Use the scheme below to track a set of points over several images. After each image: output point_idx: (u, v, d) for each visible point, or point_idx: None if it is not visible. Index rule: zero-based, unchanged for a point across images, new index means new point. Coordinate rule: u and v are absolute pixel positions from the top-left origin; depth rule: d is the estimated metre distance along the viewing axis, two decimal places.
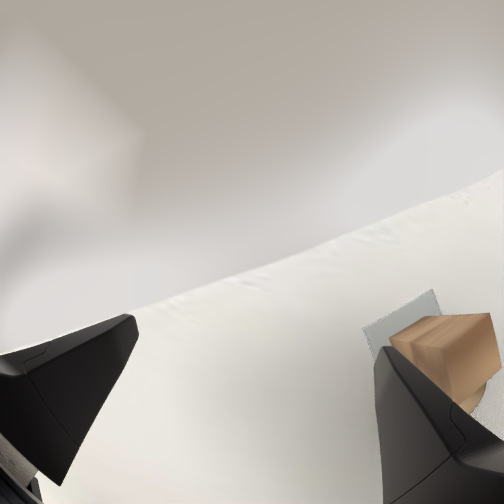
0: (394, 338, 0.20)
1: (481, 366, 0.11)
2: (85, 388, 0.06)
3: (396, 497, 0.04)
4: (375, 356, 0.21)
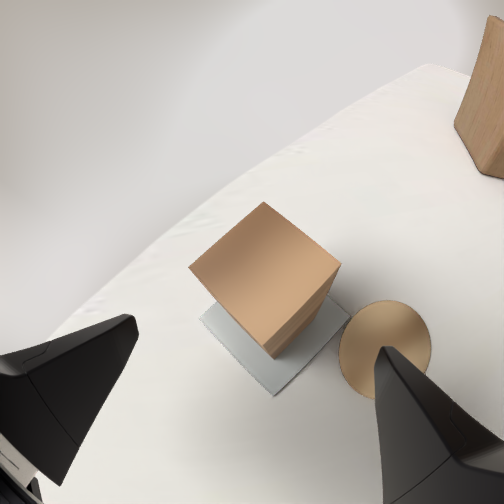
0: None
1: (284, 272, 0.10)
2: (85, 388, 0.07)
3: (396, 497, 0.04)
4: (225, 345, 0.19)
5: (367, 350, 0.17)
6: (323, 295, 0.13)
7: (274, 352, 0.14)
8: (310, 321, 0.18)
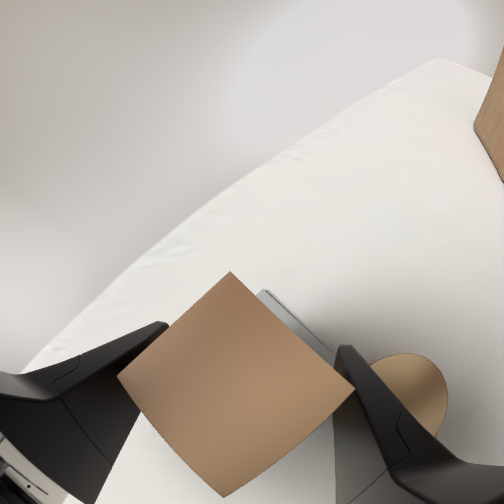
0: None
1: (258, 404, 0.05)
2: (120, 404, 0.06)
3: (344, 503, 0.04)
4: None
5: None
6: None
7: None
8: None
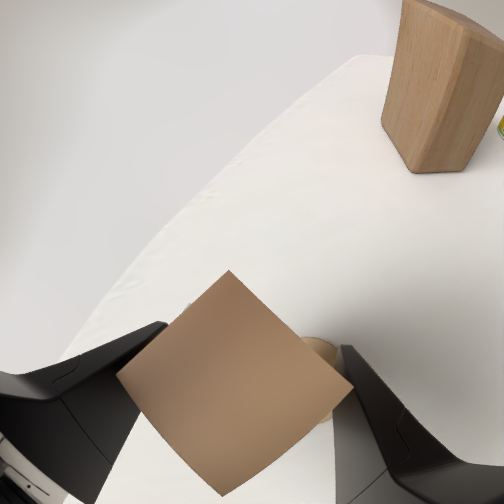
0: None
1: (256, 402, 0.05)
2: (120, 404, 0.06)
3: (344, 503, 0.04)
4: None
5: None
6: None
7: None
8: None
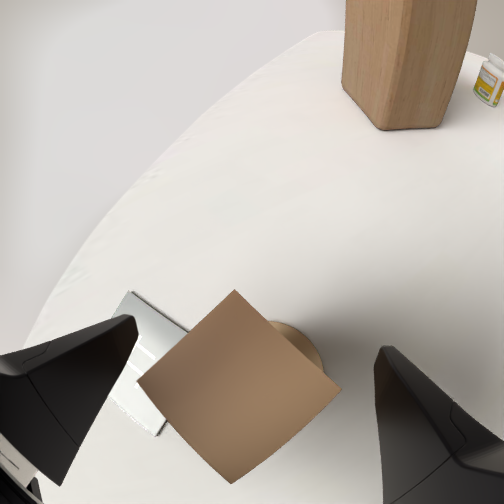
0: None
1: (259, 402, 0.06)
2: (85, 388, 0.07)
3: (396, 497, 0.04)
4: None
5: None
6: None
7: None
8: None
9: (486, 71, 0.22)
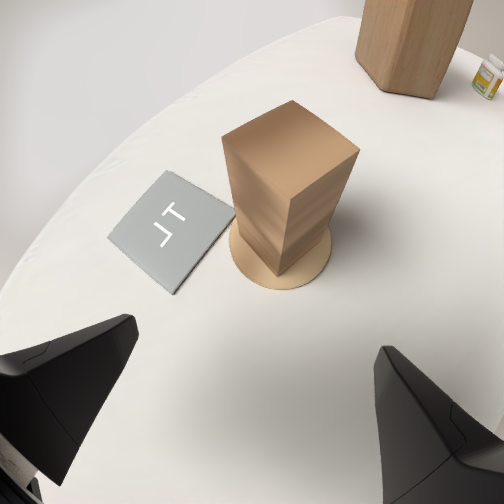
0: (239, 226, 0.19)
1: (310, 146, 0.10)
2: (85, 388, 0.07)
3: (395, 497, 0.04)
4: (127, 254, 0.20)
5: None
6: (338, 193, 0.13)
7: (284, 253, 0.15)
8: (316, 241, 0.19)
9: (484, 68, 0.25)
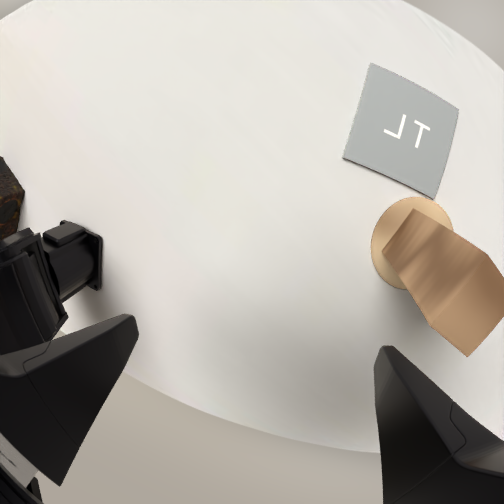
0: (420, 212, 0.16)
1: (472, 326, 0.09)
2: (85, 388, 0.07)
3: (396, 497, 0.04)
4: (363, 95, 0.16)
5: None
6: None
7: None
8: None
9: None
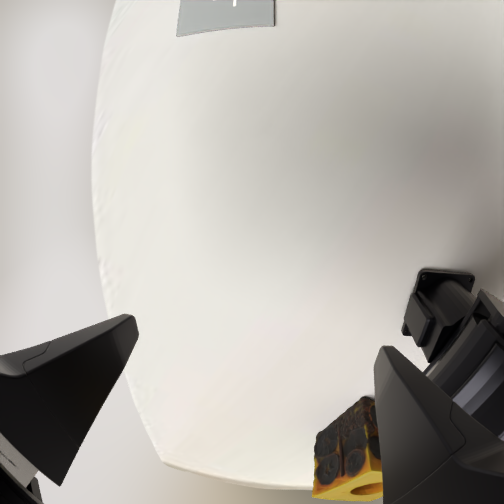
0: None
1: None
2: (85, 388, 0.07)
3: (396, 497, 0.04)
4: (209, 28, 0.16)
5: None
6: None
7: None
8: None
9: None
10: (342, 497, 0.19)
